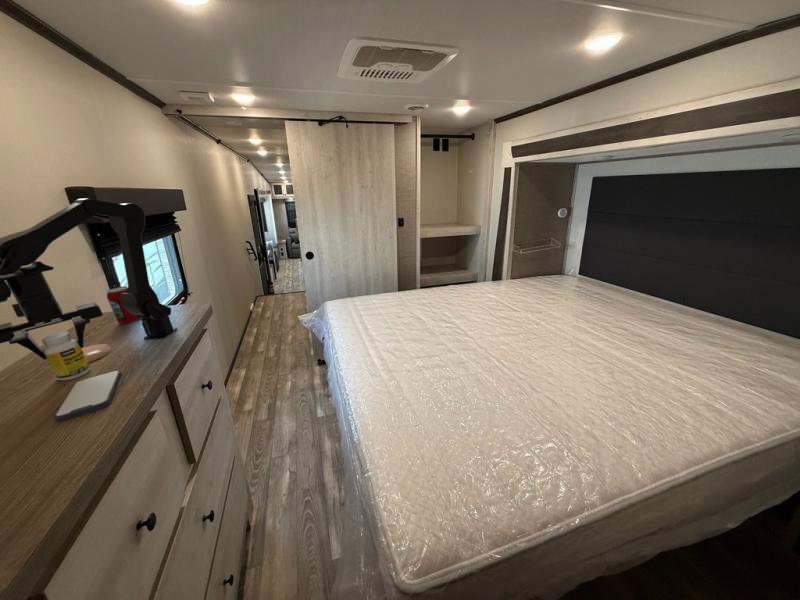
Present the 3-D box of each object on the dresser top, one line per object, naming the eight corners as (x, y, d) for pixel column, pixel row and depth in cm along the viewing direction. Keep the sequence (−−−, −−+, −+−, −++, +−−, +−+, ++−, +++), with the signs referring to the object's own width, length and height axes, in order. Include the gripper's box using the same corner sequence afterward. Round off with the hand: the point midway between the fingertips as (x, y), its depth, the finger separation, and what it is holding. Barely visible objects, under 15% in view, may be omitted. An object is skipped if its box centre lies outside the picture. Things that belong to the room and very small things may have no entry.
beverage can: (117, 321, 111) (103, 290, 107) (140, 315, 116) (128, 284, 111) (120, 327, 107) (105, 293, 102) (144, 320, 111) (131, 288, 107)
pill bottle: (75, 381, 77) (54, 341, 73) (50, 382, 77) (28, 342, 73) (98, 366, 83) (79, 329, 79) (75, 367, 83) (56, 330, 79)
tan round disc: (121, 345, 94) (120, 343, 93) (86, 366, 83) (85, 363, 83) (85, 347, 94) (84, 345, 94) (46, 368, 84) (45, 365, 83)
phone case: (77, 387, 76) (54, 425, 63) (74, 381, 75) (50, 419, 62) (123, 374, 80) (110, 407, 67) (121, 368, 80) (107, 401, 67)
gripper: (83, 277, 84) (107, 330, 89) (-28, 300, 71) (8, 359, 76) (89, 284, 77) (114, 341, 82) (-33, 310, 64) (7, 375, 69)
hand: (64, 353), depth 78 cm, fingers closed on pill bottle, 6 cm apart
